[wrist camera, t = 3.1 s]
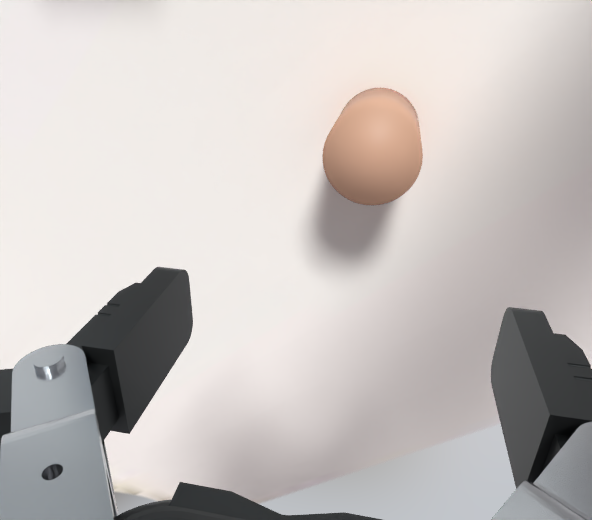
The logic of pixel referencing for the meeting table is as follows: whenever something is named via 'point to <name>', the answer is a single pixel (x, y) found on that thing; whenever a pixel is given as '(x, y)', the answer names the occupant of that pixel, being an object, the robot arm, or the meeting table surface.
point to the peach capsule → (374, 148)
